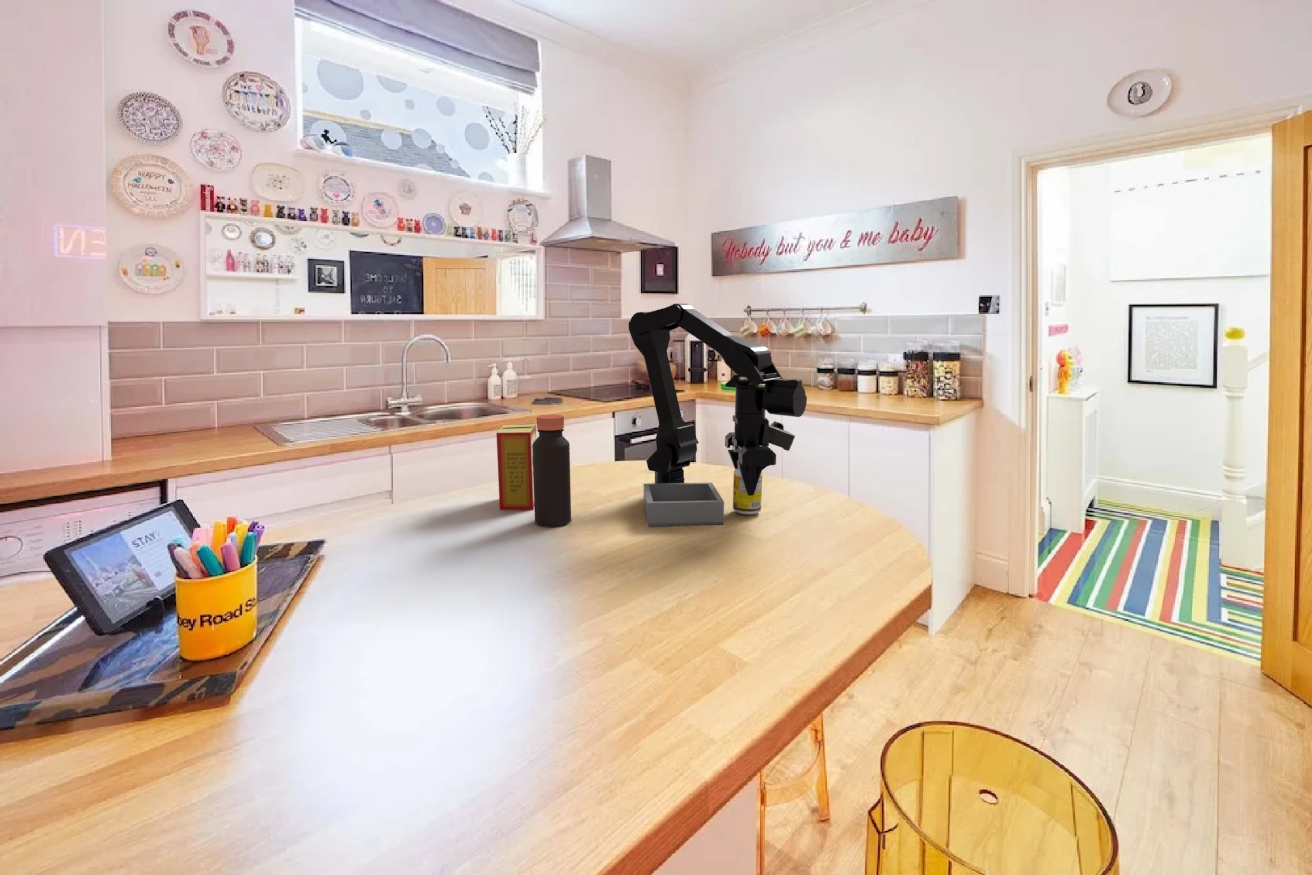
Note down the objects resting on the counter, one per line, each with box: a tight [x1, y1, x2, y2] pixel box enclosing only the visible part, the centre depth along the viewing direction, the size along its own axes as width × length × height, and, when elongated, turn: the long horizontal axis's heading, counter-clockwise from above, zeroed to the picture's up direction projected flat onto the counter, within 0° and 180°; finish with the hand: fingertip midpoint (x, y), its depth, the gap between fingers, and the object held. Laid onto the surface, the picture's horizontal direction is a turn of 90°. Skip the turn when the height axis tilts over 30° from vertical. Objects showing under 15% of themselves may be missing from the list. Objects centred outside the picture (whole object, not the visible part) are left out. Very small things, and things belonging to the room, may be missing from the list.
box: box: [643, 482, 725, 528], centre depth 126 cm, size 14×14×4 cm
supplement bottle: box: [732, 460, 763, 515], centre depth 127 cm, size 6×6×10 cm
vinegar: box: [532, 414, 572, 528], centre depth 120 cm, size 7×7×20 cm
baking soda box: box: [496, 424, 537, 511], centre depth 133 cm, size 10×6×16 cm
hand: (747, 491), depth 127 cm, fingers closed on supplement bottle, 6 cm apart
